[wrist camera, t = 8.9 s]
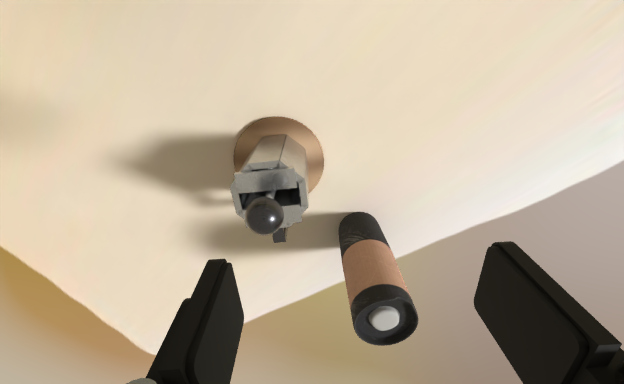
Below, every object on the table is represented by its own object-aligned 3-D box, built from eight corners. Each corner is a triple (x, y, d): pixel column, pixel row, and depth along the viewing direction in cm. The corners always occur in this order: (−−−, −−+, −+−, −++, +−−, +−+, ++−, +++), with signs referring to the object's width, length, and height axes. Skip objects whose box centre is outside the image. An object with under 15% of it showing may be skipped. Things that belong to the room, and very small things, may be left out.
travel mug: (342, 251, 53) (359, 351, 35) (332, 216, 50) (346, 307, 32) (383, 241, 52) (423, 339, 34) (376, 205, 49) (415, 293, 31)
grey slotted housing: (245, 138, 43) (223, 167, 32) (303, 132, 43) (302, 159, 32) (259, 206, 48) (244, 252, 37) (311, 201, 48) (313, 246, 36)
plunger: (252, 152, 41) (224, 202, 27) (294, 148, 41) (288, 195, 27) (260, 190, 43) (238, 253, 30) (299, 186, 43) (296, 248, 29)
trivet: (225, 122, 43) (224, 122, 42) (319, 111, 42) (319, 112, 42) (244, 205, 49) (243, 206, 48) (327, 196, 48) (327, 198, 48)
